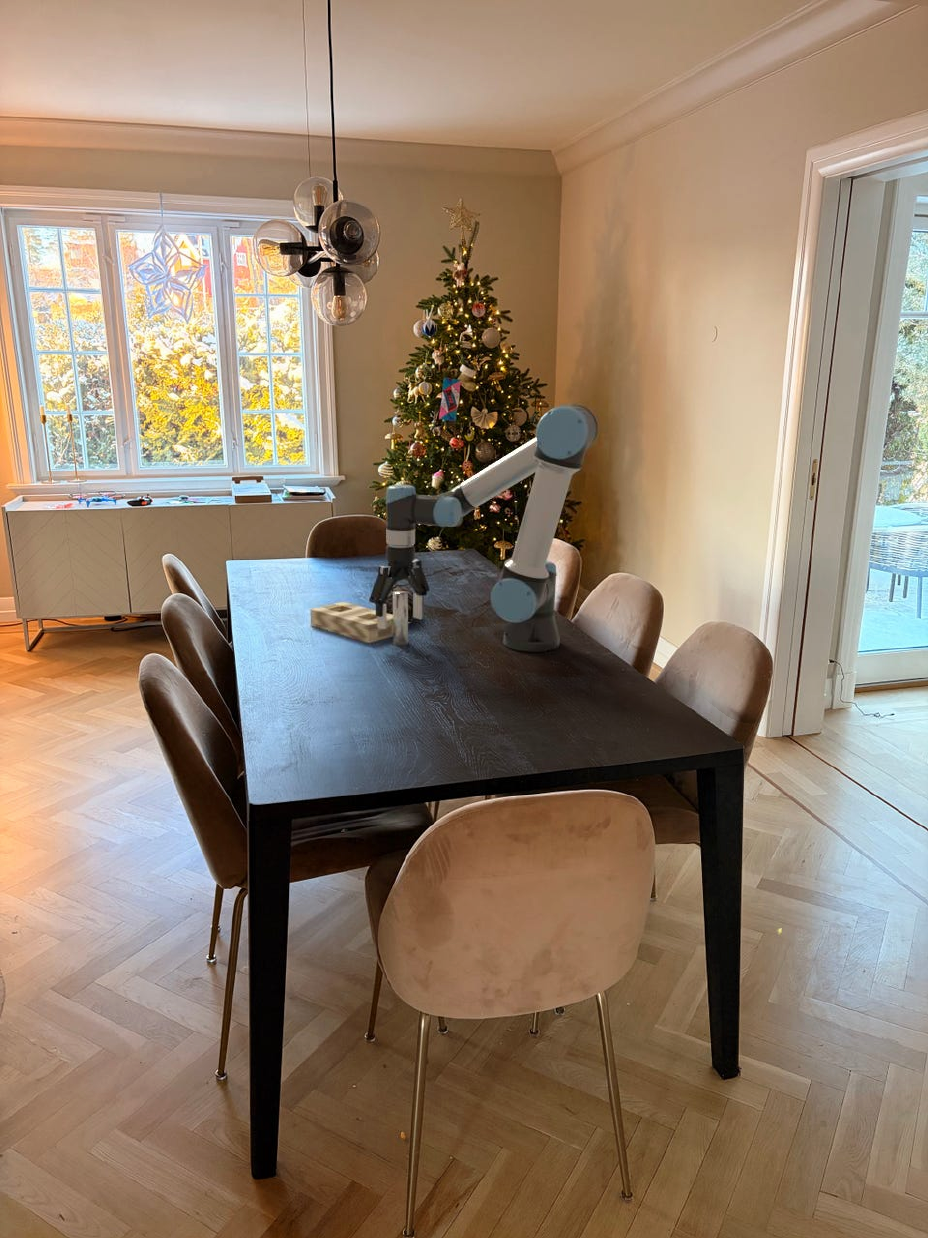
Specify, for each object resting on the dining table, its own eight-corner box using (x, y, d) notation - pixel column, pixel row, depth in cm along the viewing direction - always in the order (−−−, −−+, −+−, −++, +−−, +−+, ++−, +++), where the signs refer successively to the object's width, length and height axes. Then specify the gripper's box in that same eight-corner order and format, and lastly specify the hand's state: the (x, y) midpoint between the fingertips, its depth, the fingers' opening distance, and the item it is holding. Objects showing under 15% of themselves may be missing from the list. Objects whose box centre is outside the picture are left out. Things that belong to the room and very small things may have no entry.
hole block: (400, 634, 249) (400, 616, 247) (368, 643, 240) (368, 625, 238) (342, 618, 264) (342, 601, 262) (310, 626, 255) (310, 609, 253)
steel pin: (411, 642, 241) (411, 592, 237) (400, 646, 238) (400, 595, 234) (400, 640, 243) (400, 590, 239) (390, 643, 240) (389, 592, 236)
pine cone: (390, 628, 254) (390, 594, 251) (377, 612, 270) (377, 580, 268) (425, 626, 257) (425, 592, 254) (410, 610, 273) (410, 578, 271)
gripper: (422, 537, 245) (421, 611, 250) (355, 549, 226) (356, 629, 232) (443, 540, 240) (441, 616, 246) (375, 553, 222) (376, 635, 227)
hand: (400, 623), depth 239 cm, fingers open, 13 cm apart
